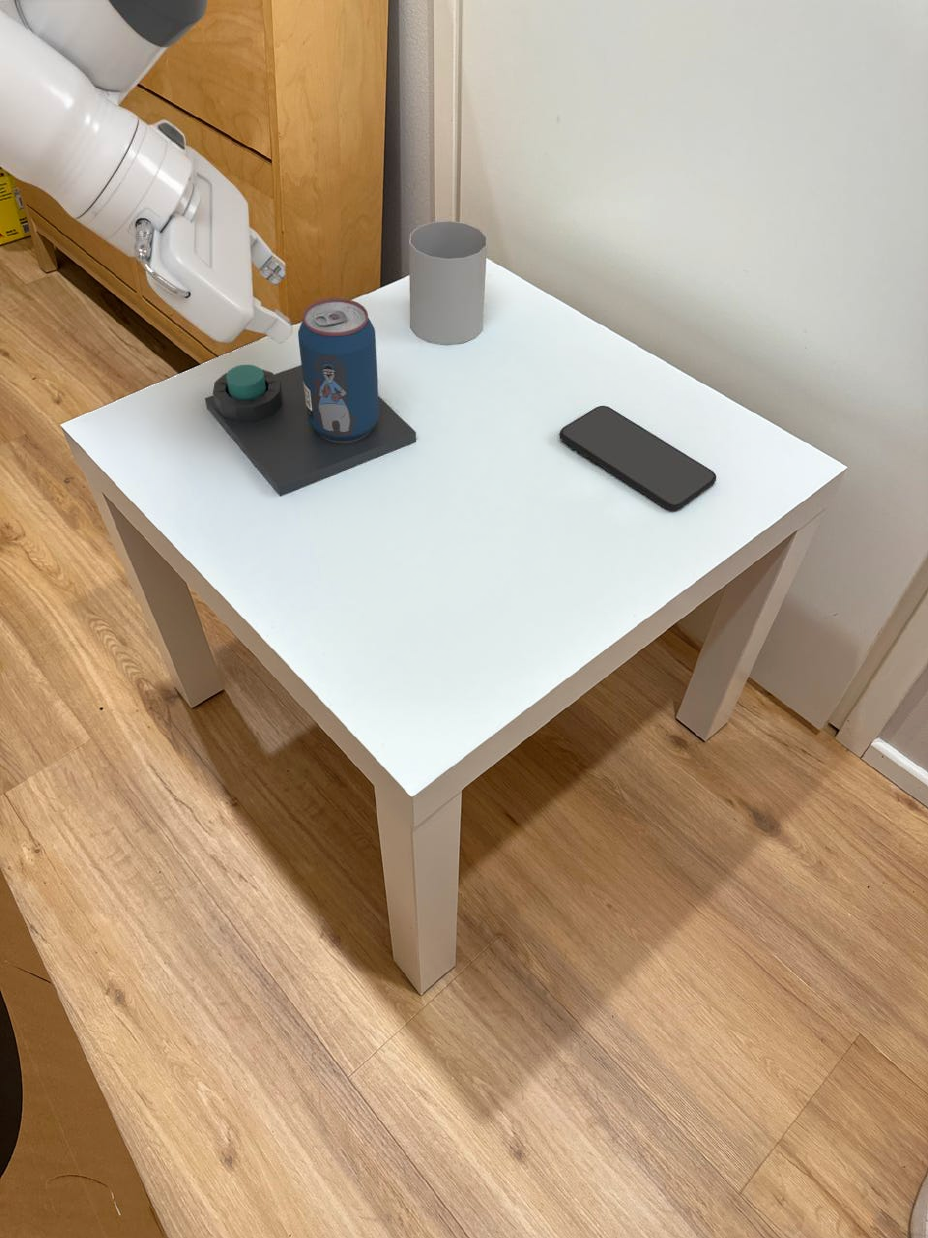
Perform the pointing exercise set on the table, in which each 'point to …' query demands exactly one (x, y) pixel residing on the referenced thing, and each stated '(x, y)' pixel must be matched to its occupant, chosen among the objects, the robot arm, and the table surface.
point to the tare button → (246, 382)
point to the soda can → (339, 369)
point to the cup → (447, 281)
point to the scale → (297, 433)
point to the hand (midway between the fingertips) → (284, 303)
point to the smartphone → (638, 457)
